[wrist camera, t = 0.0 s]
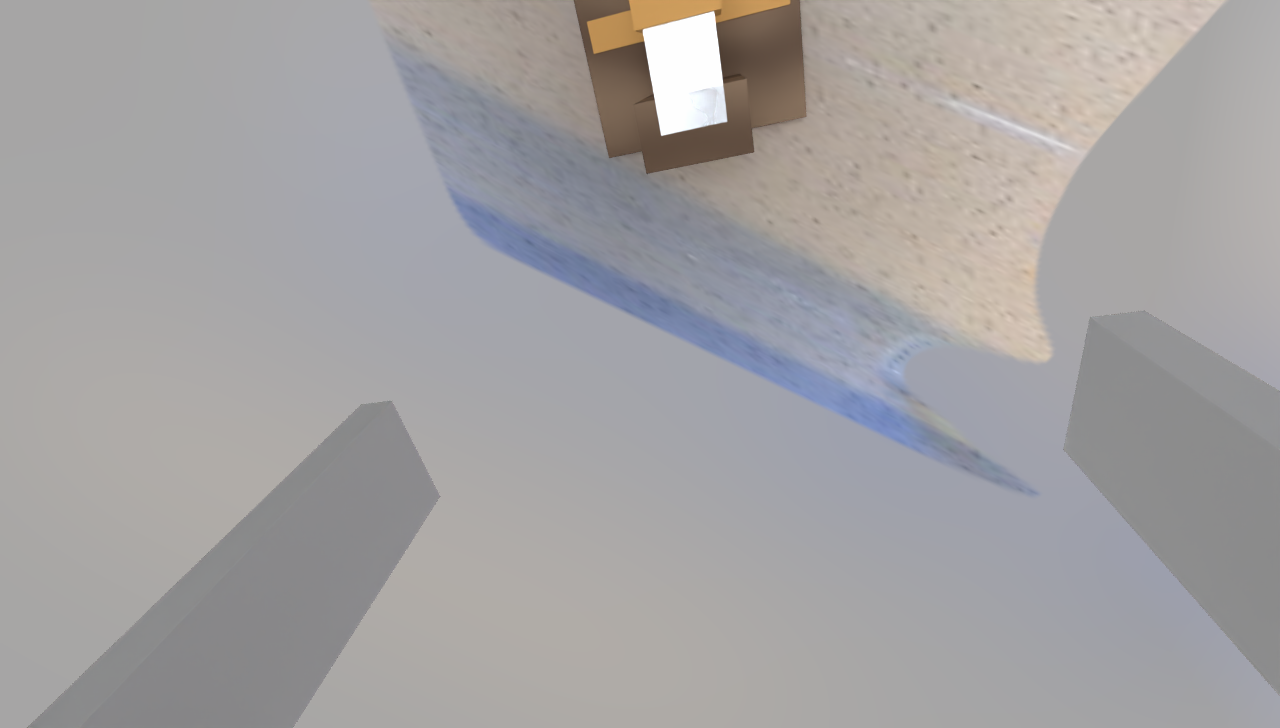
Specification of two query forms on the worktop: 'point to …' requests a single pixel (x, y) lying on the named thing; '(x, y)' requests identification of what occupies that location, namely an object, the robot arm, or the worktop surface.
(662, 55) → the grey square bar
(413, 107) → the worktop surface
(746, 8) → the pair of orange bands
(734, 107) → the stand
